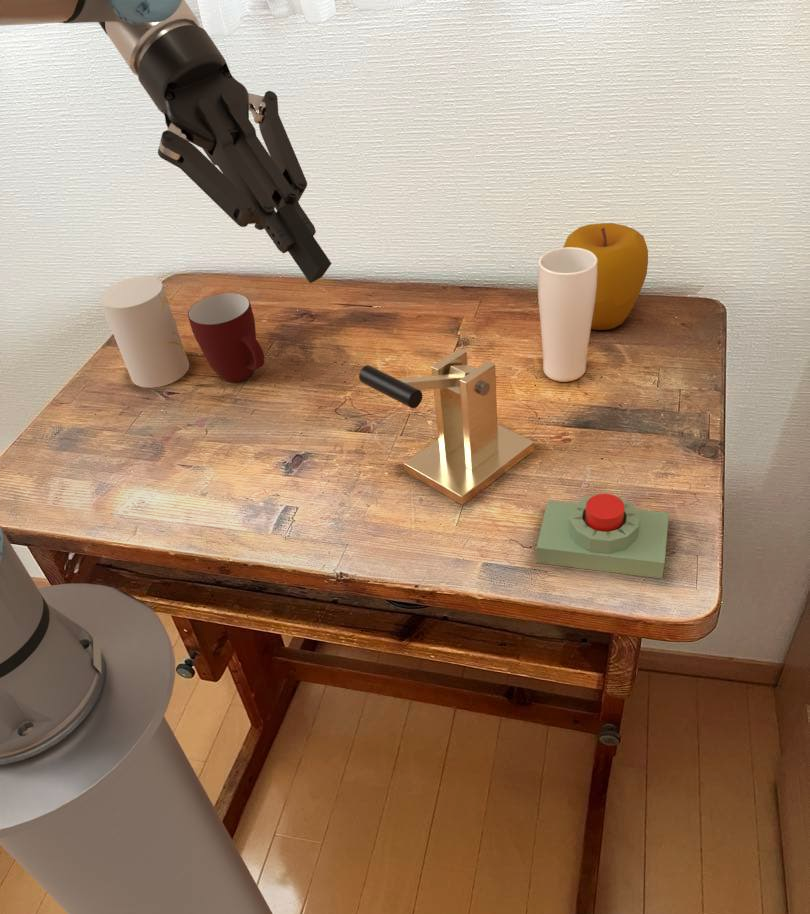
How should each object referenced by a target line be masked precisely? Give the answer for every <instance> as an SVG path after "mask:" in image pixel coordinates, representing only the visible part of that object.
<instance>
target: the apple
mask: <svg viewBox="0 0 810 914" xmlns="http://www.w3.org/2000/svg"><path fill="white" fill-rule="evenodd" d="M647 245H648V244H647V243H646V240H645V236H644V235H643V234H641V233H640V232H639V231H637V230H636V229H635V228H633V227H629V226H628V225H624V224H619V223H614V222H601V223H592V224H591V223H589V224H586V225H583V226H580V227H578V228H576V229H575V230H573V231H572V232H571V233H570V234H569V235H568V236H567V237H566V239H565V241H564V244H563V246H562V248H566V247H575V248H582V249H586V250H588V251H590V252H592V253H594V254H595V255H596V257H597V260H598V262H597V290H596V298H595V305H594V312H593V318H592V325H591V330H593V331H594V330H595V331H604V330H606V331H607V330H611V329H615V328H616V327H618V326H621V325H622V324H624V322H625V320H626V319H627V317H628V316H629V315H630V313H631V311H632V310H633V307H634V306H635V304H636V302H637V300H638V297H639V296H640V293H641V290H642V289H643V285H644V284H645V281H646V277H647V274H648V267H649V249H648V246H647Z"/></svg>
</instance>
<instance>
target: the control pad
mask: <svg viewBox="0 0 810 914" xmlns="http://www.w3.org/2000/svg"><path fill="white" fill-rule="evenodd" d="M598 494H599V493H595V494H593V495H589V496H585V497H582V498H580V500H578V501H577V502H571V501H564V500H563V501H562V500H561V501H560V500H554V499H553V500H551V499H547V502H546V506H545V510H544V513H543V518H542V522H541V525H540V530H539V535H538V539H537V544H536V547H535V548H536V549H535V550H536V551H535V552H536V555H535V561H536V562H535V563H536V564H541V565H543V564H544V565H550V566H556V567H557V566H559V567H565V568H574V569H583V570H590V571H597V572H605V573H614V574H622V575H630V576H638V577H645V578H646V577H647V578H652V579H653V578H654V579H663V576H664V569H665V565H666V564H665V563H666V555H667V554H666V553H667V542H668V530H669V518H670V512H668V511H667V512H666V511H658V510H657V511H656V510H647V509H638V508H636V507H635V505H634V504H633V503H632V502H631V501H629V500H628V499H625V498H623V497H621V496H620V495H616V494H613V495H614V496H617V497H618V498H620V499H621V500H622V501H623V503H624V505H625V510H624V519H623V524H622V525H621V527H620V528H618V529H617V530H614V531H610V532H604V531H596V530H594V529H592V528H590V527H589V526H588V525H587V523H586V520H585V514H586V503H587V501H588V500H589V499H590V498H591V497H593V496H595V495H598Z"/></svg>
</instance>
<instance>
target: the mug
mask: <svg viewBox="0 0 810 914" xmlns="http://www.w3.org/2000/svg"><path fill="white" fill-rule="evenodd" d="M187 317H188V321H189V325H190V328H191V332H192V334H193V336H194V338H195V340H196V343H197V345H198V346H199V348H200V349H201V353H203V355H204V357H205V359H206V361H207V363H208V364H209V367H210V368H211V369H212V370H213V371H214V372H215V373H216V374H218V376H219V377H220V378H221V379H223V380H224V381H225V382H226V383H230V384H231V383H232V384H235V383H242V382H244V381H245V380H248V379H249V378H251V376H252V375H253V372H254V371H256V370H259V369H261V368H262V367H263V366H264V364H265V360H266V359H265V354H264V351H263V348H262V346H261V344H260V343H259V340H257V332H256V331H257V330H256V320H255V316H254V311H253V308H252V305H251V301H250V300H249V298H248V297H247V296H246V295H243V294H241V293H236V292H221V293H217V294H216V293H215V294H212V295H208V296H206V297H204V298H202V299H200V300H198V301H196V302H195V303H193V305H191V307H189V309H188V312H187Z"/></svg>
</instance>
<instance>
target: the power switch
mask: <svg viewBox="0 0 810 914" xmlns="http://www.w3.org/2000/svg"><path fill="white" fill-rule="evenodd" d="M457 365H469V363H468V351H467V350H465V349H463V348H458V349H457V350H455V351H453V352H452V353H450V354H449V355H447V356H445V357H444V358H443V359H441V360H439V361H438V362H436V363H435V364H433V365H431V366H430V367H431V376H437V375H449V371H450V366H457ZM475 368H476V369H475V370H474V371H472V372H471V373H469V374H468V375H466V376H465V377H463V378H462V379H460V393H461V395H460V394H457V393H455V392H453V391H451V390H449V389H447V388H440V389H433V396H434V397H433V399H434V408H435V419H436V428H437V439H436V440H435V441H433V442H431V443H430V444H429V445H427V446H426V447H424V448H423V449H422V450H421V451H419V452H418V453H416V454H415V455H414V456H412V457H410V458H409V459H407V460H406V461H405V462H403V467H404V472H405V473H406V474H407V475H410V476H412V477H413V478H414V479H416V480H418V481H420V482H422V483H423V484H425V485H427V486H429V487H430V488H432V489H434V490H436V491H437V492H438V493H440V494H441V495H442V494H443V495H444V496H446V497H447V498H448V499H451V500H453V501H454V502H456V503H458V504H460V505H461V506H464V505H465V504H466V503H468V502H469V501H470V500H472V499H473V498H475V496H477V495H478V494H479V493H481V492H482V491H483V490H484V489H486V488H487V487H488V486H490V485H491V484H493V482H495V481H496V480H497V479H499V478H500V477H501V476H503V475H504V474H505V473H506V472H508V471H510V470H511V469H512V468H513V467H515V466H516V465H517V464H518V463H520V462H521V461H523V460H524V459H525V458H526V457H527V456H529V455H530V454H531V453H533V452H534V451H535V441H534V440H532V439H530V438H528V437H527V436H523V435H521V434H519V433H517V432H515V431H513V430H511V429H510V428H508V427H505V426H503V425H501V424H499V423H498V403H497V401H498V400H497V375H496V374H497V373H496V363H495V362H492V361H490V360H486V361H485V362H484V363H482V364H480V365H479V366H478V367H475Z"/></svg>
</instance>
